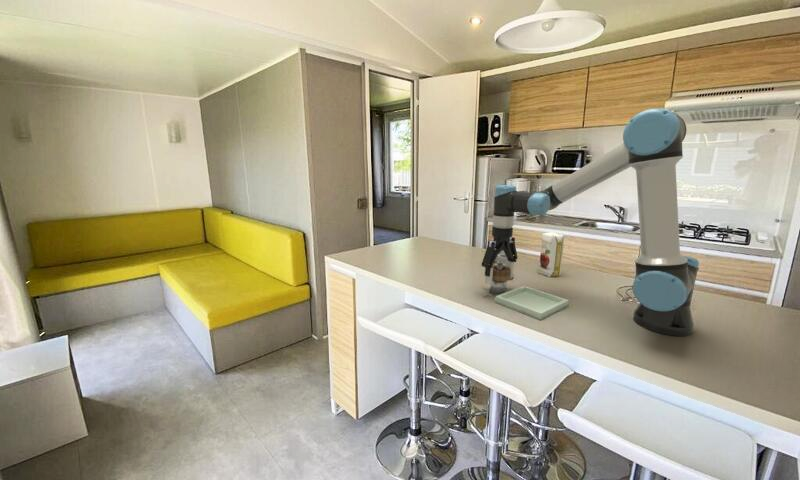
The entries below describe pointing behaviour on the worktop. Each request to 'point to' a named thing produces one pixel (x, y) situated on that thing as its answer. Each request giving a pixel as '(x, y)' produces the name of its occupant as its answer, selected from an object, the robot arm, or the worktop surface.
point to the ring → (501, 273)
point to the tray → (532, 302)
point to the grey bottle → (498, 284)
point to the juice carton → (551, 254)
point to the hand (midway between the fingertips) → (498, 280)
